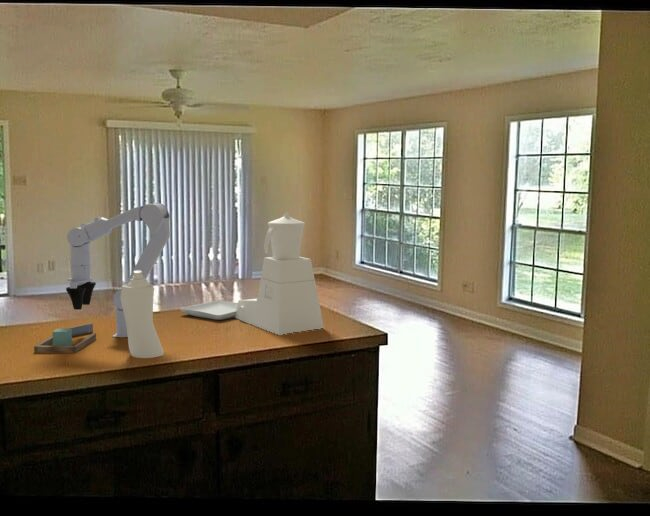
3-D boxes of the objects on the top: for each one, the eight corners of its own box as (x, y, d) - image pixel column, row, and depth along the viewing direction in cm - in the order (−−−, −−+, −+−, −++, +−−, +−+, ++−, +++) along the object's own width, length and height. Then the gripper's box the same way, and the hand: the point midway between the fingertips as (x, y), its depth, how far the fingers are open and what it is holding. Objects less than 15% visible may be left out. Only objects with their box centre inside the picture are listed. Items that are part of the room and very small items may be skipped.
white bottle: (124, 365, 173) (122, 274, 169) (120, 355, 182) (118, 269, 179) (167, 360, 177) (166, 272, 174) (161, 351, 187) (159, 267, 184)
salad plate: (218, 307, 253) (218, 299, 252) (258, 314, 240) (258, 305, 240) (178, 316, 235) (178, 307, 235) (219, 324, 223) (219, 315, 223)
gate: (91, 332, 208) (90, 323, 207) (93, 332, 207) (92, 323, 207) (56, 339, 198) (56, 330, 197) (58, 340, 197) (57, 330, 197)
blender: (231, 319, 231) (231, 209, 226) (276, 314, 241) (276, 209, 236) (276, 338, 203) (277, 214, 198) (324, 331, 214) (325, 213, 209)
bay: (96, 341, 197) (95, 333, 197) (76, 355, 181) (76, 346, 181) (57, 340, 197) (57, 332, 197) (34, 354, 181) (34, 346, 181)
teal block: (72, 348, 189) (71, 328, 188) (66, 351, 185) (66, 331, 184) (58, 348, 189) (58, 328, 188) (53, 351, 185) (52, 331, 184)
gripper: (76, 261, 208) (77, 302, 210) (59, 268, 194) (60, 311, 195) (97, 262, 208) (99, 302, 210) (82, 268, 194) (83, 311, 196)
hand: (82, 306), depth 203 cm, fingers open, 7 cm apart
